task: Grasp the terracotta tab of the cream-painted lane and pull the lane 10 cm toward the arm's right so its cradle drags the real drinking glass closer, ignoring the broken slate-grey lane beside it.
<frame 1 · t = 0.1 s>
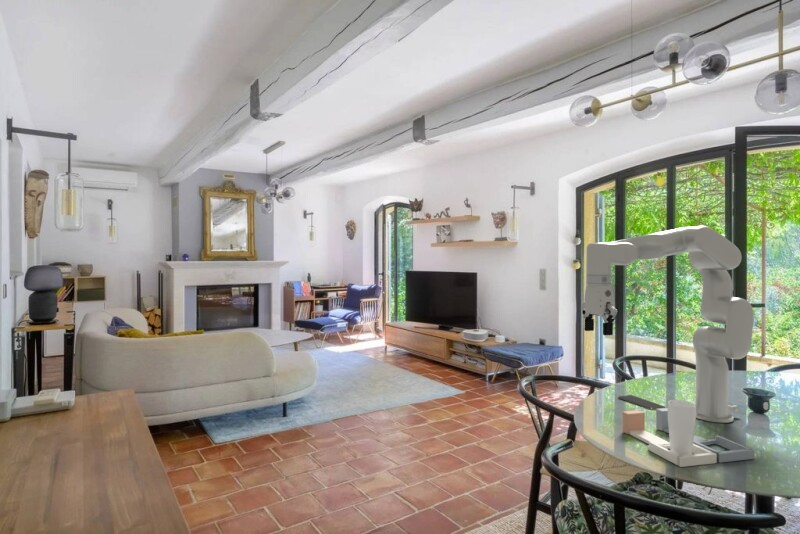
hand: (598, 332, 156), 31 cm above the table, fingers open, 9 cm apart
lane b broken: (667, 429, 154), on the table
drinking glass: (681, 457, 133), resting in lane a
lane a: (661, 435, 140), point 3 cm above the table, slide at 0.0 cm
smartphone: (640, 404, 183), on the table
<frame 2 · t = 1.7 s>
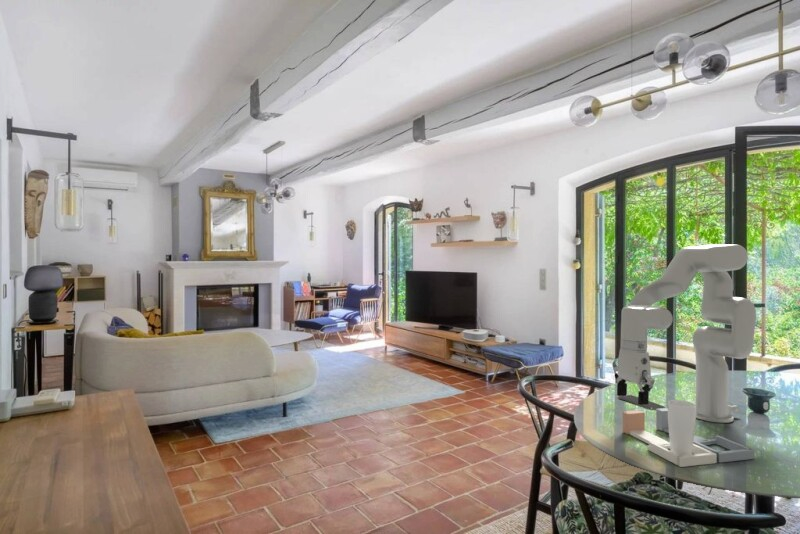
hand: (632, 399, 151), 11 cm above the table, fingers open, 9 cm apart
nothing on the table moved.
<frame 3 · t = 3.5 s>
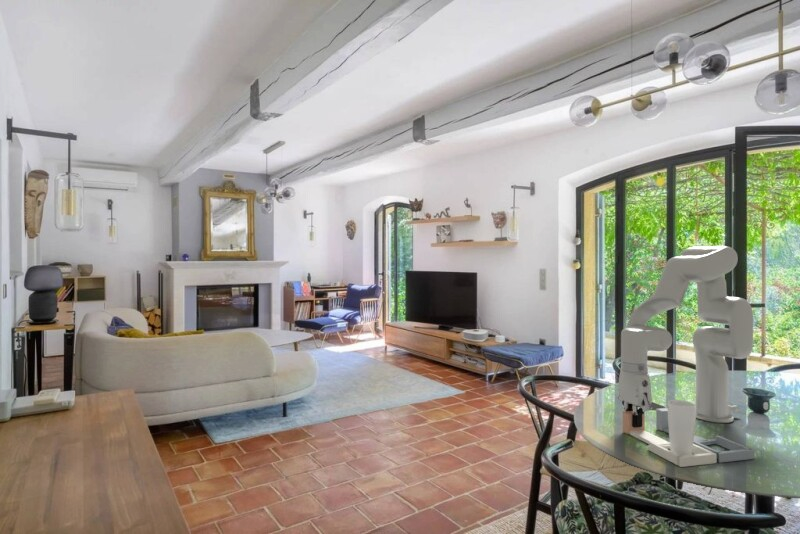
hand: (633, 424, 151), 3 cm above the table, fingers closed on lane a, 2 cm apart
lane a: (661, 435, 140), point 3 cm above the table, slide at 0.0 cm, touching gripper
everything else where it was.
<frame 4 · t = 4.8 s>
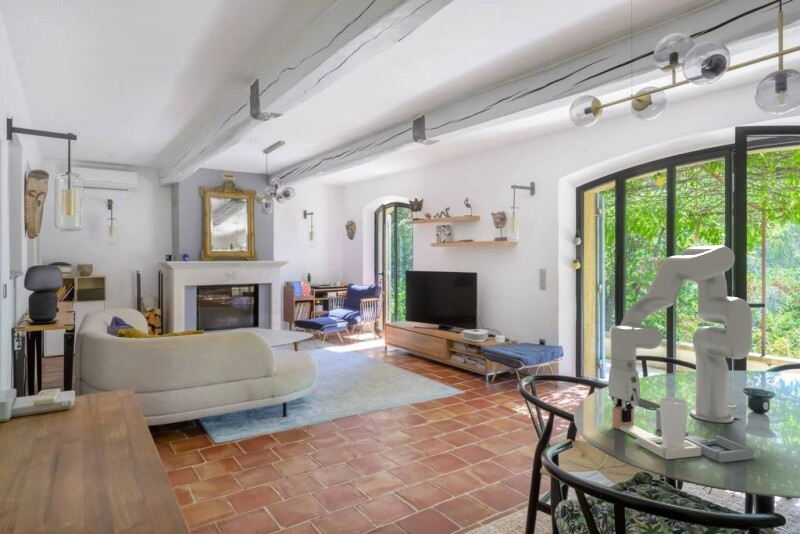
hand: (623, 419, 156), 3 cm above the table, fingers closed on lane a, 2 cm apart
drinking glass: (673, 453, 136), resting in lane a
lane a: (649, 429, 144), point 3 cm above the table, slide at 4.9 cm, touching gripper
everything else where it was.
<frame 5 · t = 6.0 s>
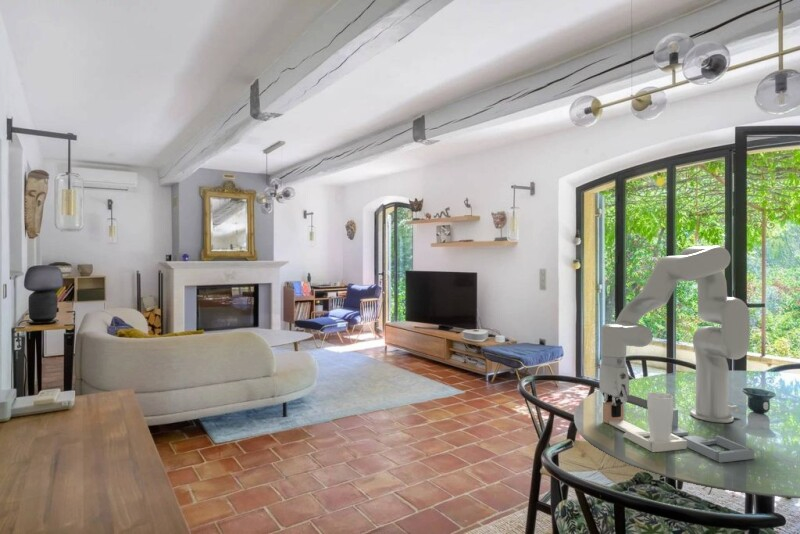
hand: (613, 414, 161), 3 cm above the table, fingers closed on lane a, 2 cm apart
drinking glass: (660, 446, 140), resting in lane a
lane a: (637, 424, 149), point 3 cm above the table, slide at 9.9 cm, touching drinking glass, gripper
everything else where it was.
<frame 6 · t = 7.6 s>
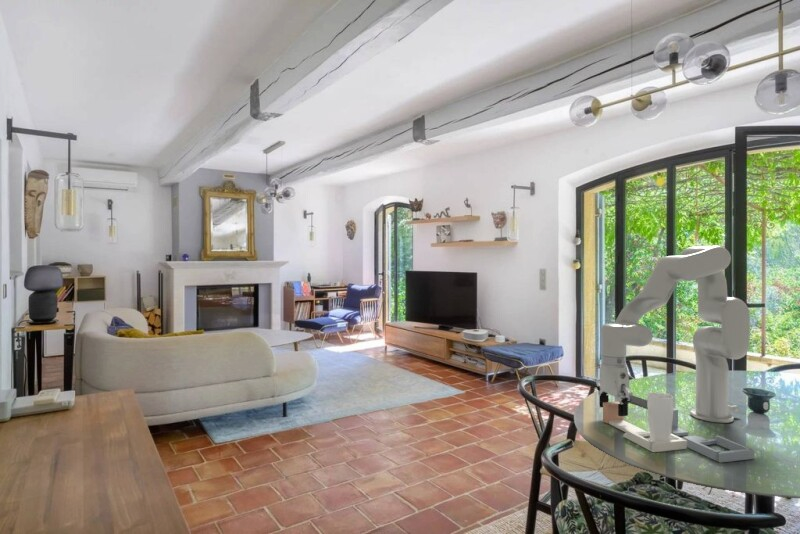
hand: (613, 411, 161), 4 cm above the table, fingers open, 9 cm apart
drinking glass: (659, 446, 140), resting in lane a
lane a: (637, 424, 149), point 3 cm above the table, slide at 10.0 cm
everything else where it was.
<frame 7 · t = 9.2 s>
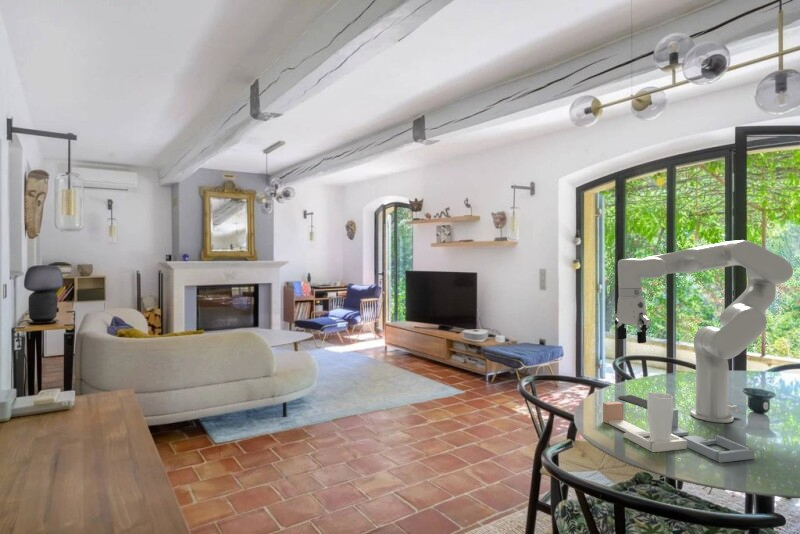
hand: (631, 340, 171), 26 cm above the table, fingers open, 9 cm apart
nothing on the table moved.
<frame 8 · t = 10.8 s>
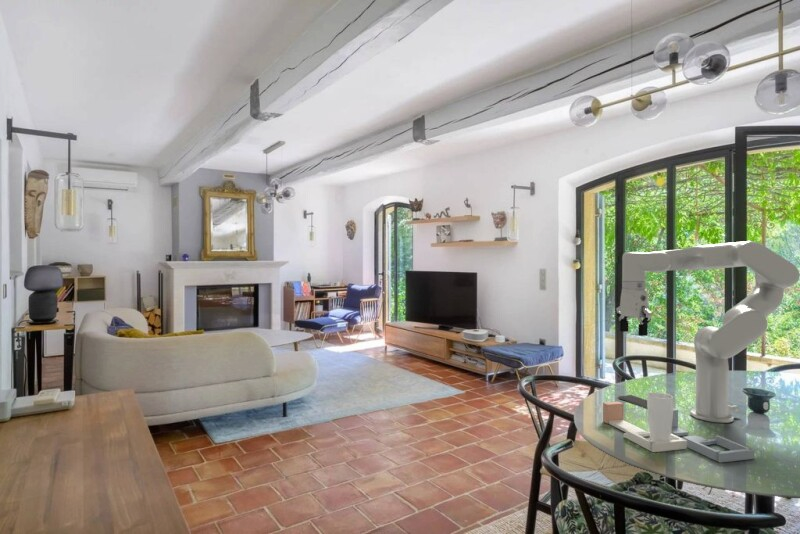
hand: (633, 333, 173), 28 cm above the table, fingers open, 9 cm apart
nothing on the table moved.
at the end: lane a slide at 10.0 cm; drinking glass inside the target area (1.6 cm from its centre), resting in lane a; drinking glass tilted 0° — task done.
